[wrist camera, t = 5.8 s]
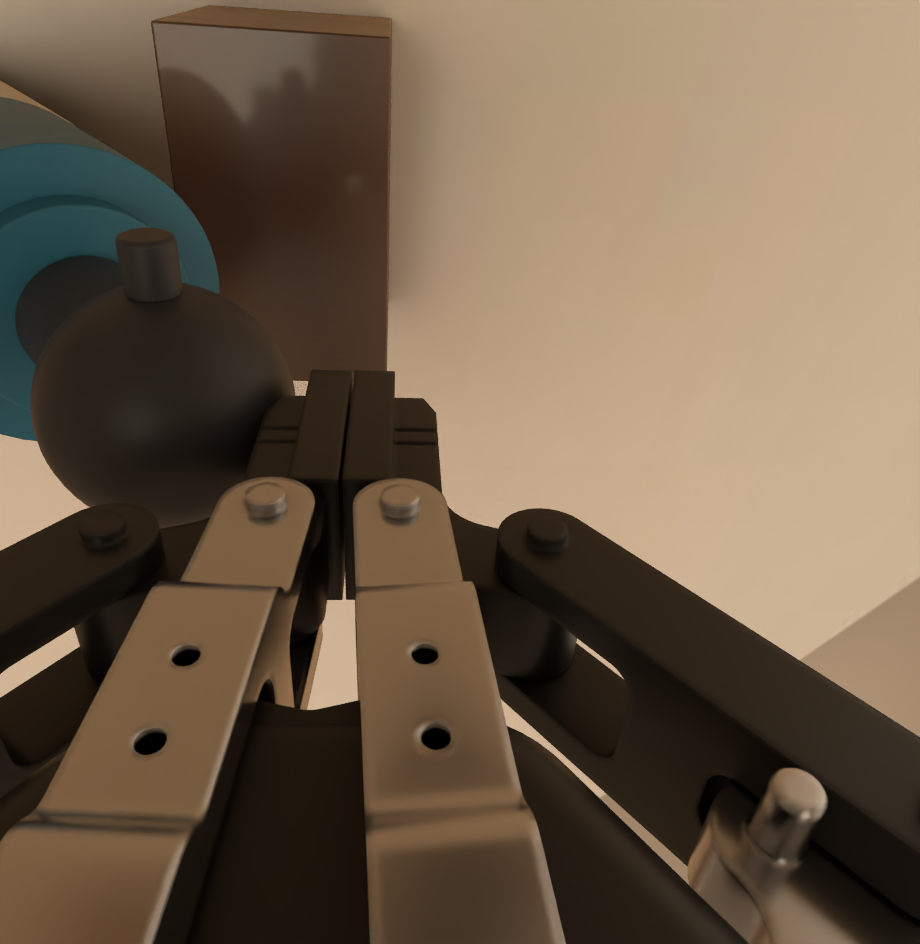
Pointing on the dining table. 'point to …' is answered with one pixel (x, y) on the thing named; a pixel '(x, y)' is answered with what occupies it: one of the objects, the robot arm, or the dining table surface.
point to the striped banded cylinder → (120, 327)
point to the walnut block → (288, 170)
